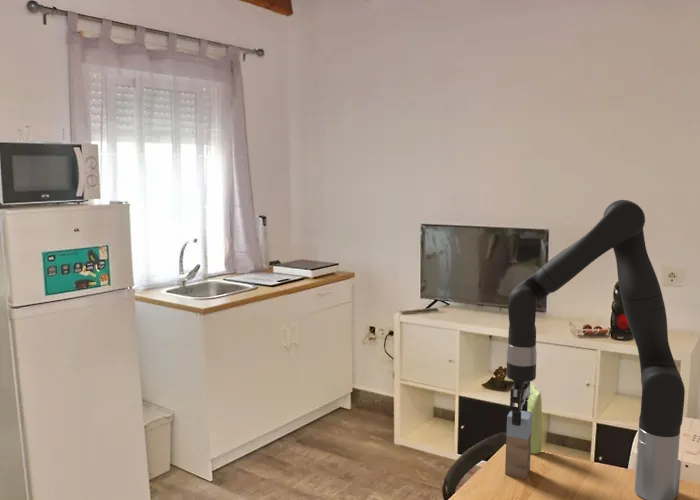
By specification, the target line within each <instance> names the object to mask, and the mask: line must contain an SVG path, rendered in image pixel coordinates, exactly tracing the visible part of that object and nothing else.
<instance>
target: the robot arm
mask: <svg viewBox="0 0 700 500" xmlns="http://www.w3.org/2000/svg"><path fill="white" fill-rule="evenodd" d="M645 223H646V215H645V212H644V210H643V209H642V207H640V206H639V205H638V204H637V203H635V202H634V201H631V200H626V199H618V200H615V201H613V202H611V203H610V204H609V205H607V207H606V209H605V210H604V212H603V216H602V217H601V219H600V220H599V221H598V222H597V223H596V224H595V226H593V227H592V228H591V229H590V230H589V231H588V232H587V233H586V234H584V235H583V236H582V237H580V238H579V239H578V240H577V241H575V242H574V243H572V244H571V245H569V246H568V247H566V248H564V249H563V250H562V251H561V252H559V253H558V254H556V255H555V256H553V257H552V258H551V259H550V260H549V261H547V262H546V263H545V264H544V265H542V266H541V267H540V268H539V269H537V271H535V273H533V274H531V275H530V276H529V277H527V278H526V279H523V281H521V282H520V283H518V284H517V285H516V286H515V287H514V288H513V289H512V291H511V292H510V294H509V296H508V305H507V307H508V309H507V311H508V323H509V326H508V338H507V340H508V341H507V350H506V378H508V379H509V380H512V381H513V384H512V385H511V388H510V390H509V392H510V396H509V397H510V399H509V400H510V401H509V412H510V411H512V424H513V425H516V426H520V425H521V411H527V409H528V400H529V396H530V388H531V382H533V381H534V380H536V379H537V377H536V376H537V346H536V345H537V327H536V318H537V317H536V316H537V315H536V314H537V305H538V303H540V302H541V301H542V300H543V299H545V298H546V297H547V296H548V295H550V294H552V293H555V292H557V291H558V290H559V289H561V288H562V287H563V286H565V285H566V284H567V283H568V282H570V281H571V280H572V279H574V278H575V277H576V276H577V275H578V274H579V273H581V272H582V271H583V270H584V269H586V268H587V267H589V265H590V264H591V263H593V262H594V261H595V260H597V259H598V258H600V257H601V256H602V255H604V254H605V253H607V252H608V251H610V250H613V252H614V256H615V263H616V269H617V270H616V271H617V278H618V279H617V281H618V287H619V293H620V299H621V302H622V307H623V311H624V316H625V319H626V322H627V325H628V327H629V330H630V332H631V335H632V336H633V339H634V341H635V344H636V348H637V353H638V358H639V366H640V383H641V400H640V401H641V402H640V412H639V413H640V415H639V419H638V433H637V449H636V451H637V452H636V461H635V462H636V464H635V465H636V466H635V479H634V492H635V494H636V495H637V496H639V497H640V498H642V499H644V500H675V499H676V498H679V495H680V492H679V491H680V480H681V479H680V478H681V466H682V462H681V460H679V451H680V439H681V438H680V437H681V436H680V435H681V427H682V424H683V420H684V419H683V417H684V416H683V415H684V407H685V406H684V405H685V391H686V390H685V385H684V381H683V379H682V377H681V376H682V375H681V373H680V372H679V369H678V368H677V365H676V362H675V359H674V357H673V354H672V351H671V348H670V343H669V342H670V341H669V336H668V334H669V333H668V318H667V312H666V311H667V310H666V306H665V301H664V297H663V293H662V289H661V285H660V282H659V280H658V276H657V274H656V271H655V269H654V267H653V264H652V262H651V259H650V257H649V254H648V251H647V246H646V241H645V240H646V239H645V234H644V226H645ZM515 404H517V406H516V405H515Z"/></svg>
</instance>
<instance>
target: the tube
mask: <svg viewBox="0 0 700 500" xmlns="http://www.w3.org/2000/svg"><path fill="white" fill-rule="evenodd" d="M527 401H528V409H527V412H532V432H531V454H535V455H537V454H540V453H541V452H542V443H543V442H542V439H543V438H542V436H543V432H542V431H543V411H542V409H543V408H542V394H541V391H540V389H539V388H538V387H537V386H536V385H535V384H534V383H533V381H530V396H529V399H528V400H527Z"/></svg>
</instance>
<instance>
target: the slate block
mask: <svg viewBox="0 0 700 500" xmlns="http://www.w3.org/2000/svg"><path fill="white" fill-rule="evenodd" d="M531 432H532V412H527V411H521V425H520V426H516V425H513V424H512V411H510V410H509V412H508V414H507V416H506V435H505V437H506V436H510V437H516V438H521V439H526V440H528V438H529V436H530V434H531Z"/></svg>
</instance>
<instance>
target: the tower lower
mask: <svg viewBox="0 0 700 500" xmlns="http://www.w3.org/2000/svg"><path fill="white" fill-rule="evenodd" d="M531 454H532V453H531V451H530V453H529V456H528V458H527V459H522V458H517V457H512V456H507V455H506V454H505V461H504V462H505V463H504V471H505V472H504V475H505V476H511V477H515V478H519V479H524V480H526V479H527V478H528V475H529V472H530V471H531Z"/></svg>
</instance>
